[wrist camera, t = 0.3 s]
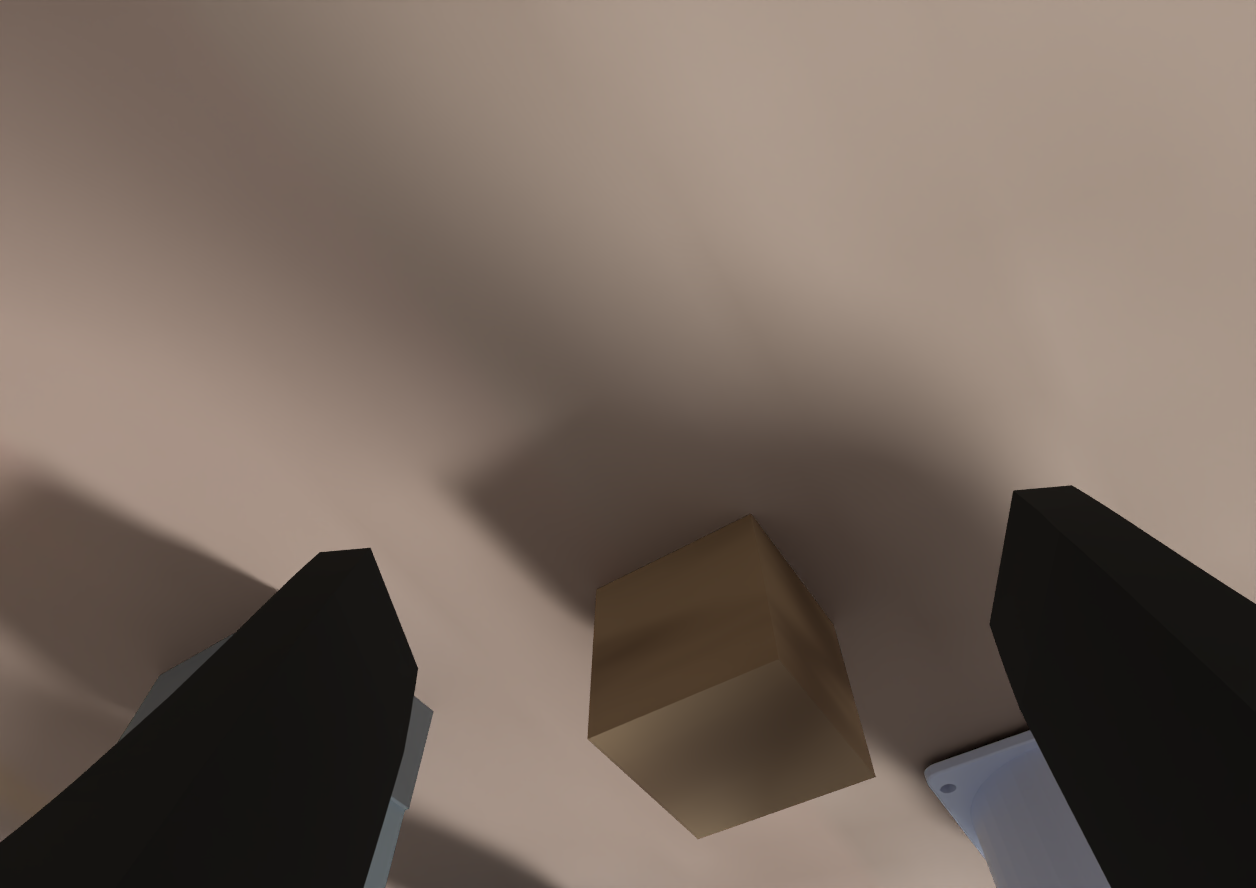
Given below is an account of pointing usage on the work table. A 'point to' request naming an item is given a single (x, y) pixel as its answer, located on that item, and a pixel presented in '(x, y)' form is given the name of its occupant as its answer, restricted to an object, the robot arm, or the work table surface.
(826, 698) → the walnut cube
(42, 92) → the work table surface
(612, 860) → the work table surface
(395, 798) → the tower base
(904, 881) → the work table surface
